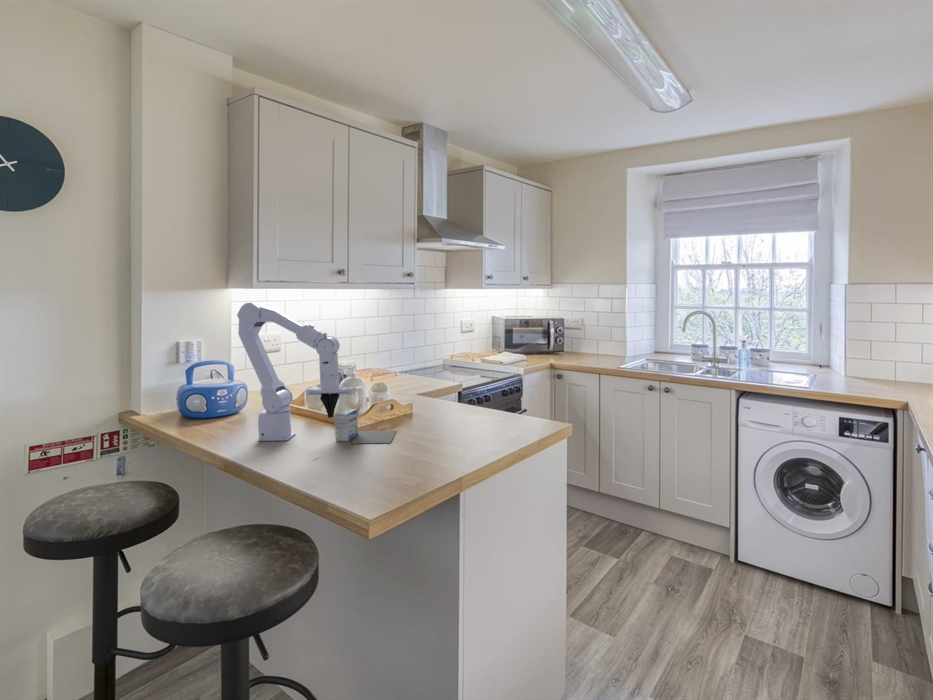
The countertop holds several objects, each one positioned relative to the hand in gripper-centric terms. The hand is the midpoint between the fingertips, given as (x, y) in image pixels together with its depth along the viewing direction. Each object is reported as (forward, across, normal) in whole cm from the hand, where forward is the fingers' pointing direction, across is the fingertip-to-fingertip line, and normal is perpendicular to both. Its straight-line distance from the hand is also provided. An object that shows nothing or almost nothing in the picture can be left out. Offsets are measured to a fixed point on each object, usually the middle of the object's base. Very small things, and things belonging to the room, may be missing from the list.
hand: (331, 416), depth 164 cm
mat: (+7, +14, 0) cm, 15 cm away
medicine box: (+7, +5, 0) cm, 9 cm away
